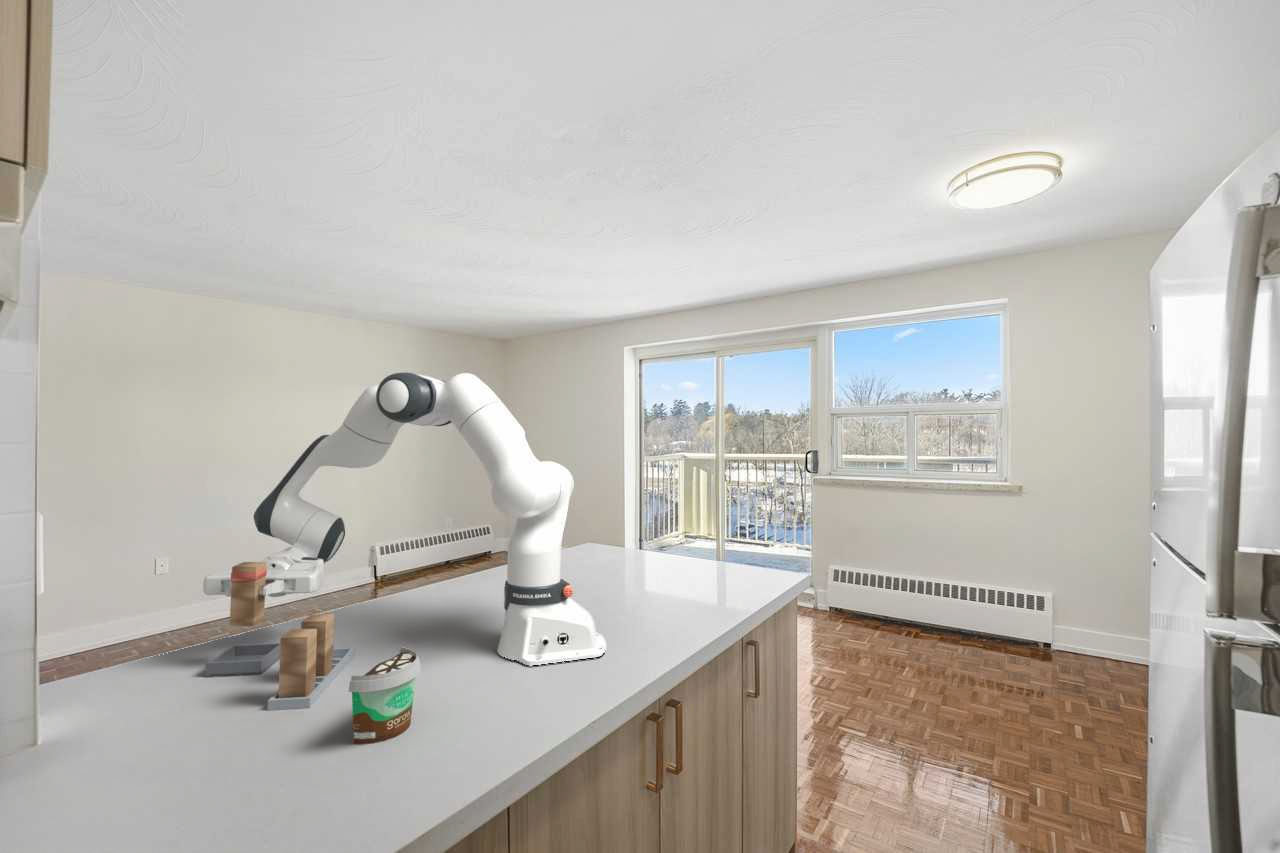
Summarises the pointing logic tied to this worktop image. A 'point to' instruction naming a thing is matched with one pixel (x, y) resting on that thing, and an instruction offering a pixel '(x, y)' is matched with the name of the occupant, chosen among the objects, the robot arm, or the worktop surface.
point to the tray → (244, 660)
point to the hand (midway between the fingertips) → (246, 592)
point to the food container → (384, 698)
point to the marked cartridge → (247, 593)
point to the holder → (320, 684)
